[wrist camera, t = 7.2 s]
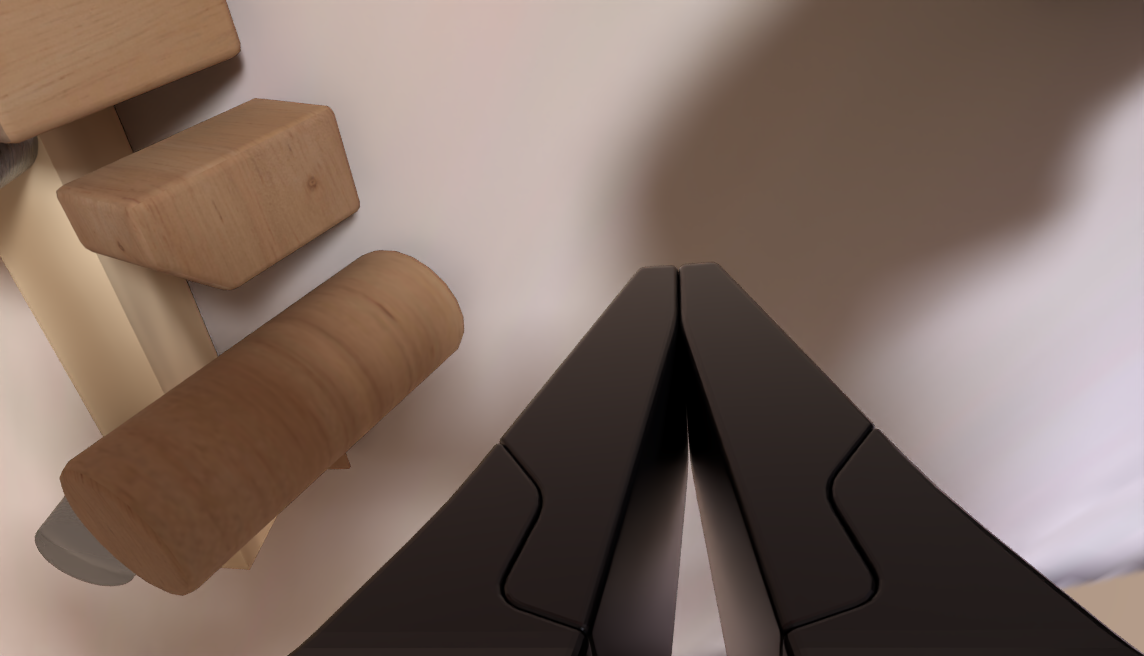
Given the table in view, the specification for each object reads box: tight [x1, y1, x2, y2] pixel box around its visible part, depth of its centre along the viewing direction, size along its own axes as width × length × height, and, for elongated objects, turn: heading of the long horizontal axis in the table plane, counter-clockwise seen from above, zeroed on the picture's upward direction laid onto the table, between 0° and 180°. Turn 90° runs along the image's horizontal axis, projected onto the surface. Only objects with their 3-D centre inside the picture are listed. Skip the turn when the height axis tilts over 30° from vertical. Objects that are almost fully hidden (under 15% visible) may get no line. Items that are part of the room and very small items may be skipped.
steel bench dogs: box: [0, 136, 136, 586], centre depth 24 cm, size 3×15×7 cm, turn 3°
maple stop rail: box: [0, 106, 277, 570], centre depth 25 cm, size 3×24×3 cm, turn 3°
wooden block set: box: [0, 0, 464, 596], centre depth 22 cm, size 18×9×10 cm, turn 7°
